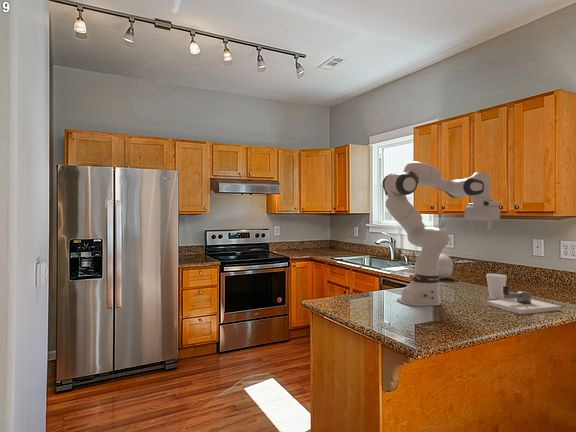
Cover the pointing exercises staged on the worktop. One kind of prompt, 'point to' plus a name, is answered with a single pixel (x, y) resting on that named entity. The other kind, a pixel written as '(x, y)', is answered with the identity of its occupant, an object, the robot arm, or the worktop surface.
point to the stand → (523, 306)
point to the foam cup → (496, 286)
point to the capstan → (518, 295)
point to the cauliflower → (444, 266)
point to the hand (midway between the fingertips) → (481, 228)
